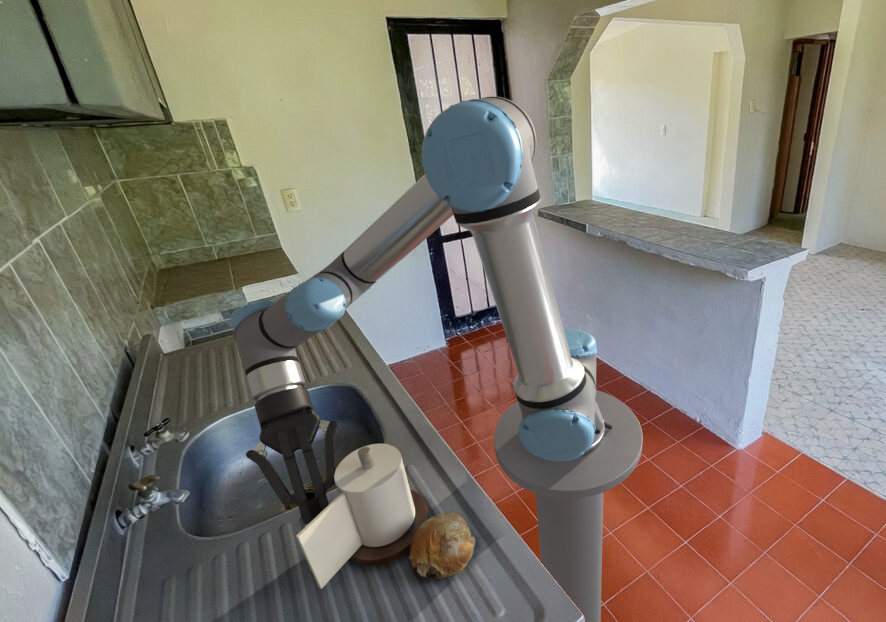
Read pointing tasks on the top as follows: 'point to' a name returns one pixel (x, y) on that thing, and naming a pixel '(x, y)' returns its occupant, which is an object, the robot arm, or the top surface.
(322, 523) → the paper towel roll
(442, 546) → the bread roll
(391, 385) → the top surface
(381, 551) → the towel holder
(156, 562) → the top surface
